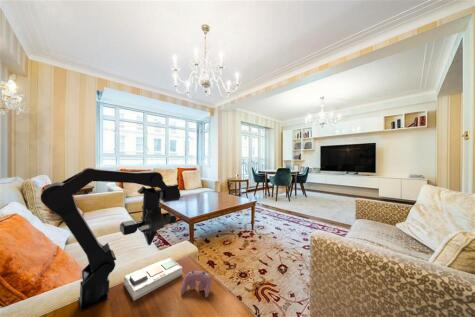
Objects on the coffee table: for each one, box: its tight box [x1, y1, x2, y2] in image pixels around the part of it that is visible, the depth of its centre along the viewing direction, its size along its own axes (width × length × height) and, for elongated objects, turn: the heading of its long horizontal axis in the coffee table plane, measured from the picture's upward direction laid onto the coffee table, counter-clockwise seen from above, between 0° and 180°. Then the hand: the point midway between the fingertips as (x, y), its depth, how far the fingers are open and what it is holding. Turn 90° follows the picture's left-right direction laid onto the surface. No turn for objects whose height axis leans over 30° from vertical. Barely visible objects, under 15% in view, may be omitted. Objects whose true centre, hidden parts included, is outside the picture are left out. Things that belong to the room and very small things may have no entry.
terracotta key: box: [146, 266, 163, 277], centre depth 64 cm, size 4×4×2 cm
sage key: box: [161, 260, 176, 270], centre depth 68 cm, size 4×4×2 cm
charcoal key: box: [130, 270, 148, 286], centre depth 60 cm, size 4×4×2 cm
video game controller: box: [180, 270, 212, 298], centre depth 60 cm, size 10×5×7 cm, turn 85°
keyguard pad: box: [123, 256, 183, 301], centre depth 64 cm, size 17×10×3 cm, turn 139°
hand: (149, 244), depth 65 cm, fingers closed
